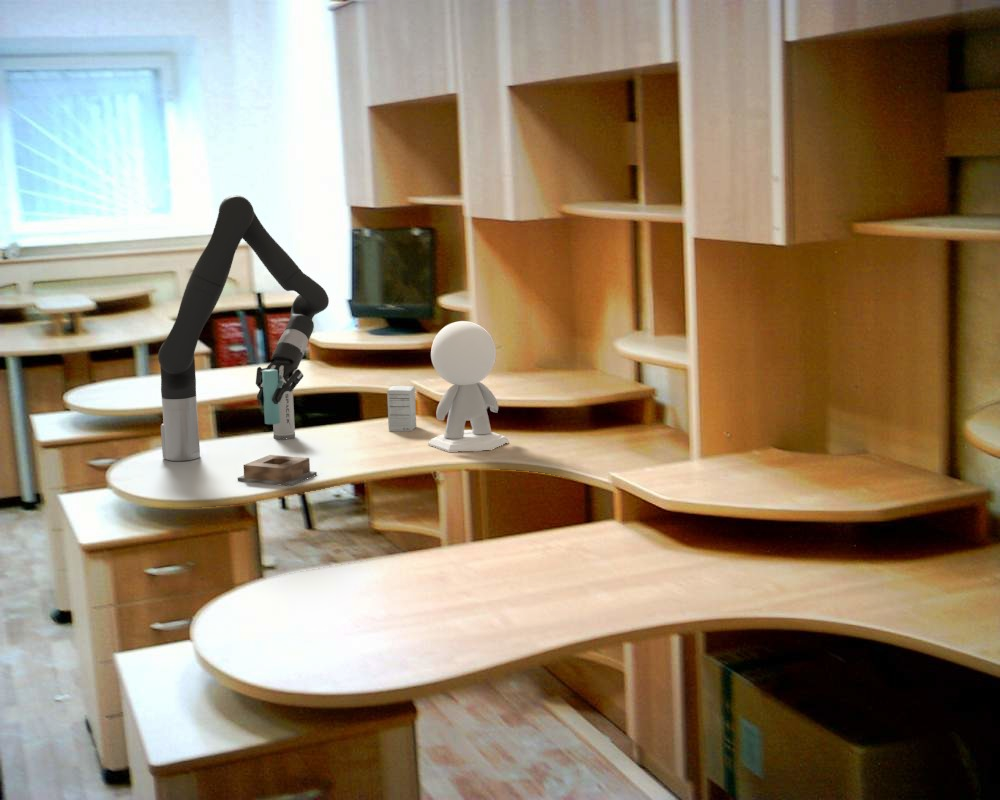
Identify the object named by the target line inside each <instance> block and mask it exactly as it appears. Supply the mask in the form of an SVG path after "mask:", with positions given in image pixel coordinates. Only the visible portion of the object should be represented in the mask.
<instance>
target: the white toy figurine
mask: <svg viewBox="0 0 1000 800" xmlns="http://www.w3.org/2000/svg"><path fill="white" fill-rule="evenodd" d="M430 350H431V351H430V359H431V364H432V366H433V368H434V370H435V372H436V373H437V375H438V376H439V377H440V378H441V379H443V381H444V380H445V382H448V383H449V384H451V386H450V387H449V388H448V389H447V390H446V392H445V393H444V394H443V396H442V397H441V399H440V401H439V403H438V405H437V407H436V413H435V414H436V419H437V420H439V421H444V420H446V425H445V426H446V427H445V432H444V433H442V434H439V435H437V436H436V437H432V438H430V440H429V441H428V443H427V445H428V446H429V445H430V447H432V446H433V447H432V448H435V447H436V449H438V448H439V450H441V449H442V450H441V451H444V450H445V451H444V452H447V451H448V453H459V452H458V451H474V452H483V451H482V450H491V449H493V448H496V447H498V446H500V445H502V444H505V443H507V442H509V443H510V440H509V438H507V437H506V436H504V435H502V434H498V433H497V432H492V429H491V424H490V419H489V415H488V409H489V410H490V412H493V413H497V414H498V411H499V404H498V403H499V402H498V400H497V398H496V396H495V394H493V391H491V389H489V387H488V386H486V385H485V384H484V383H483V382H481V381H483V380H484V379H486V378H487V377H488V376H489V375H490V373H491V372H492V369H493V368H494V366H495V363H496V357H497V350H496V344H495V341H494V339H493V338H492V335H491V334H490V332H488V331H487V330H486V329H485V328H484V327H483V326H482V325H480V324H478V323H476V322H472V321H469V320H467V321H466V320H459V321H455V322H451V323H448V324H446V325H445V326H444V327H443V328H441V329H440V330H439V331H438V332H437V334H436V335H435V337H434V339H433V342H432V345H431V349H430ZM446 416H447V419H445V418H446ZM467 421H470V425H471V429H465V427H466V422H467ZM507 444H508V443H507ZM505 445H506V444H505ZM502 446H503V445H502ZM500 447H501V446H500ZM498 448H499V447H498ZM496 449H497V448H496ZM491 451H492V450H491Z"/></svg>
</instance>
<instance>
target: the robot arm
mask: <svg viewBox="0 0 1000 800" xmlns="http://www.w3.org/2000/svg"><path fill="white" fill-rule="evenodd" d="M254 210H255V209H254V207H253V205H252V203H251V202H250V201H249V200H248V199H247V198H246V197H244V196H241V195H238V194H236V195H235V194H234V195H229V196H227V197H225V198H224V199H223V200H222V201H221V203H220V204H219V208H218V214H217V218H216V222H215V225H214V228H213V231H212V234H211V236H210V239H209V241H208V243H207V245H206V247H205V248H204V250H203V252H202V253H201V254H200V256H199V258H198V259H197V261H196V264H195V265H194V267H193V270H192V271H191V274H190V276H189V279H188V282H187V283H186V285H185V289H184V292H183V295H182V298H181V301H180V304H179V309H178V313H177V315H176V319H175V321H174V324H173V325H172V327H171V330H170V332H169V333H168V335H167V337H166V338H165V340H164V342H163V343H162V344H161V346H160V348H159V350H158V353H157V360H158V364H159V365H160V367H159V368H160V382H161V383H160V393H161V407H162V419H163V420H162V422H163V423H161V424H160V433H161V434H160V435H161V436H160V437H161V439H160V440H161V450H162V451H161V452H162V459H165V460H167V461H171V462H172V461H173V462H182V461H192V460H195V459H198V458H200V457H201V449H200V447H201V446H200V435H199V433H200V432H199V431H200V430H199V416H198V404H197V403H198V401H197V379H196V377H197V376H196V361H195V352H196V348H197V345H198V342H199V339H200V335H201V333H202V332H203V328H204V327H205V325H206V323H207V322H208V320H209V318H210V317H211V315H212V314H213V311H214V310H215V308H216V305H217V303H218V302H219V300H220V297H221V295H222V293H223V291H224V289H225V285H226V283H227V281H228V278H229V274H230V271H231V268H232V265H233V260H234V258H235V253H236V252H237V250H238V247H239V245H240V243H241V241H242V239H243V240H244V241H245V243H246V244H247V245H248V246H249V247H250V248H251V250H253V252H254V254H255V255H256V256H257V257H258V258H259V260H260V262H262V264H263V266H264V267H265V268H266V269H267V271H268V272H269V273H270V275H271V277H273V278H274V279H275V280H276V282H277V283H278V284H279V286H280V287H281V288H282V289H283V290H284V291H286V292H290V291H291V292H295V293H297V294H298V295H297V296H296V298H294V300H293V303H292V304H291V310H290V314H289V321H288V322H287V323H286V327H285V329H284V331H283V333H282V334H281V336H280V338H279V340H278V342H277V344H276V346H275V348H274V351H273V352H272V355H271V360H270V363H269V364H268V365H267V366H266V367H264V368H262V367H261V366H258V367H257V368H256V375H255V385H256V387H258V389H259V391H258V393H257V395H256V399H257V401H258V402H259V404H264V396H263V377H262V371H263V370H270V369H274V370H278V382H279V384H278V388H277V389H276V391H275V393H274V396H273V398H272V401H273V402H274V404H278V402H280V401H281V398H282V396H283V394H284V393H285V392H286V391H289V392H291V391H292V390H294V389H296V387H297V385H298V384H299V383H300V381H301V380H302V379H303V378H304V374H303V372H302V371H301V370H300V369H298V368H299V366H300V363H301V362H302V359H303V357H304V355H305V352H306V350H307V346H308V344H309V341H310V338H311V336H312V334H313V332H314V328H315V326H314V325H315V323H314V321H313V318H314V316H315V315H318V314H319V313H321V312H323V311H324V310H326V309H327V308H328V306H329V302H330V298H329V296H328V294H327V291H326V290H325V289H324V288H323V287H322V285H320V284H319V283H318V282H316V281H315V280H314V279H313V278H311V277H310V276H309V275H307V274H306V273H305V272H303V271H302V270H301V268H300V267H299V266H298V265H297V263H296V262H295V261H294V260H293V259H292V257H291V256H290V255H289V254H288V252H286V251H285V250H284V248H283V247H282V246H280V245H279V243H278V242H277V241H276V240H275V239H274V238H273V237H272V235H270V233H269V232H268V231H267V230H266V228H265V227H264V225H263V224H262V222H261V221H260V220H259V218H258V216H257V215H256V213H255V211H254ZM289 378H290V379H289ZM291 383H292V384H291Z"/></svg>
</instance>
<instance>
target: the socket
mask: <svg viewBox="0 0 1000 800" xmlns="http://www.w3.org/2000/svg"><path fill="white" fill-rule="evenodd" d="M310 467H311V466H310V458H309V457H301V456H288V455H287V456H286V455H275V454H269V455H266V456H263V457H260V458H257V459H255V460H253V461H250V462H248V463H244V464H243V475H241V476H239V477H237V482H238V481H239V482H248V483H258V484H268V485H277V484H281V485H280V486H287V485H290V487H292V486H294V484H295V485H297V484H298V483H301V481H302V482H304V481H305V479H306V480H308V479H310V477H311V478H313V477H315V476H317V474H318V473H317V471H311V468H310ZM314 475H315V476H314ZM312 476H313V477H312ZM307 478H308V479H307ZM303 480H304V481H303ZM296 483H297V484H296Z"/></svg>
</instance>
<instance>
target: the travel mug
mask: <svg viewBox="0 0 1000 800" xmlns="http://www.w3.org/2000/svg"><path fill="white" fill-rule="evenodd" d="M289 379H290V378H289ZM278 384H279V382H278ZM291 384H292V383H291ZM293 390H294V389H293ZM293 390H292V391H291V392H289V391H286V392H285V393H284V394H283V396H282V398H281V401H280V402H279V409H280V423H278V424H272V427H273V429H272V432H273V438H274V439H275V438H276V440H287V439H286V438H291V439H294V438H295V437H296V427H295V424H296V423H295V409H294V408H295V407H294V405H295V403H294V391H293Z"/></svg>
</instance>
